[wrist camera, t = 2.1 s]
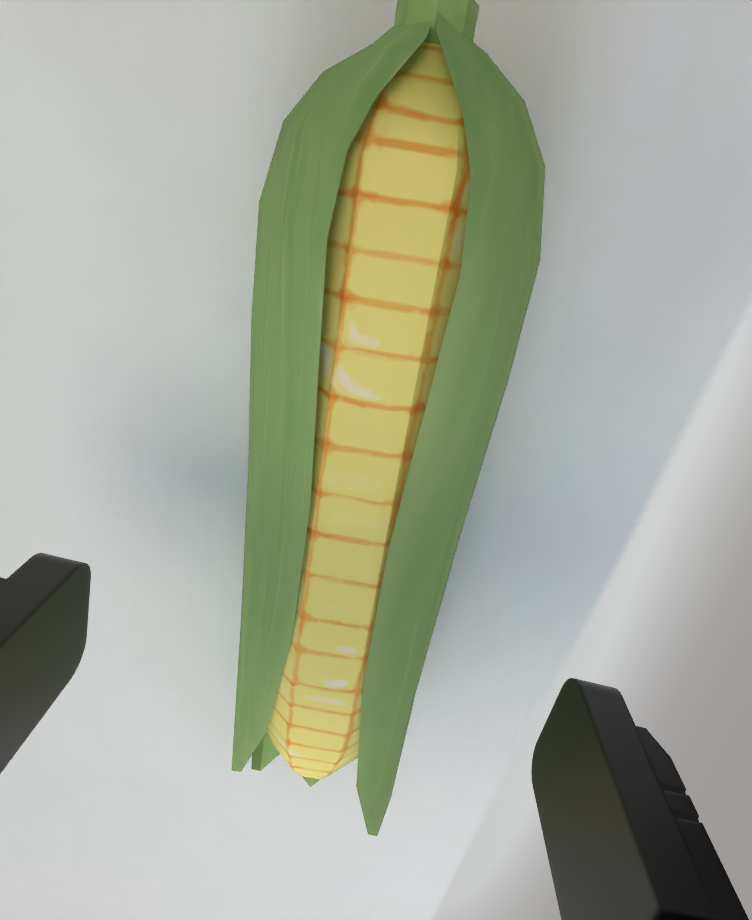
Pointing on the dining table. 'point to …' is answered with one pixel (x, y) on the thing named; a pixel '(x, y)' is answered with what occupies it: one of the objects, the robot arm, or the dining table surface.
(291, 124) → the edible corn
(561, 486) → the dining table surface
